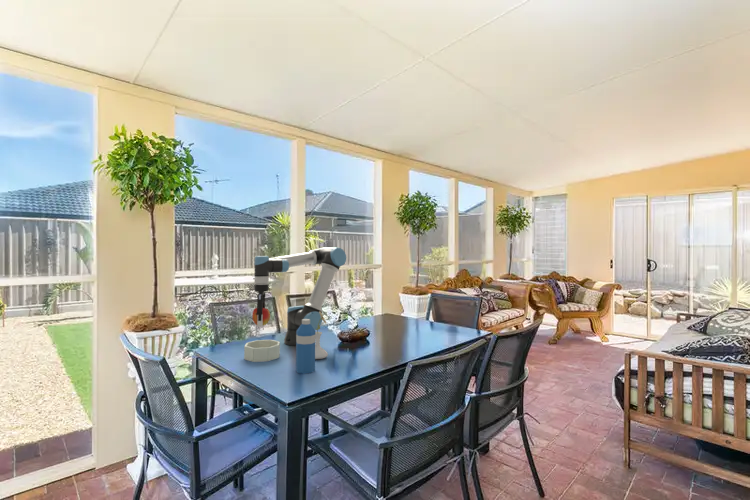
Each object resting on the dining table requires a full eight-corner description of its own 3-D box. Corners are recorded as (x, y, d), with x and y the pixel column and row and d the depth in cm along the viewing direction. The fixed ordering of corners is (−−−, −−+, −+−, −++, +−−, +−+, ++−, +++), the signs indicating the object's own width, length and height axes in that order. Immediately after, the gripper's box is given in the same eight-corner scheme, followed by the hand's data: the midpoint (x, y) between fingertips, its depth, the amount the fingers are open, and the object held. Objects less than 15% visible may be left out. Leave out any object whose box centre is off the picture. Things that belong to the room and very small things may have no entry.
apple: (262, 328, 202) (262, 309, 201) (248, 326, 205) (248, 308, 205) (273, 324, 210) (273, 306, 210) (259, 323, 214) (260, 305, 214)
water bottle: (313, 373, 180) (313, 321, 180) (293, 373, 181) (294, 321, 180) (316, 367, 190) (317, 318, 190) (298, 367, 190) (298, 317, 190)
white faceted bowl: (280, 351, 218) (280, 339, 218) (278, 360, 200) (278, 347, 200) (247, 352, 214) (247, 340, 214) (242, 362, 197) (242, 348, 197)
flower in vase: (323, 361, 200) (324, 314, 199) (303, 360, 202) (304, 313, 202) (331, 354, 212) (332, 310, 212) (312, 353, 215) (312, 309, 215)
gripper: (257, 282, 218) (256, 320, 218) (251, 286, 196) (250, 329, 196) (270, 282, 219) (270, 320, 219) (266, 285, 197) (265, 328, 198)
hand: (261, 324), depth 208 cm, fingers closed on apple, 9 cm apart
